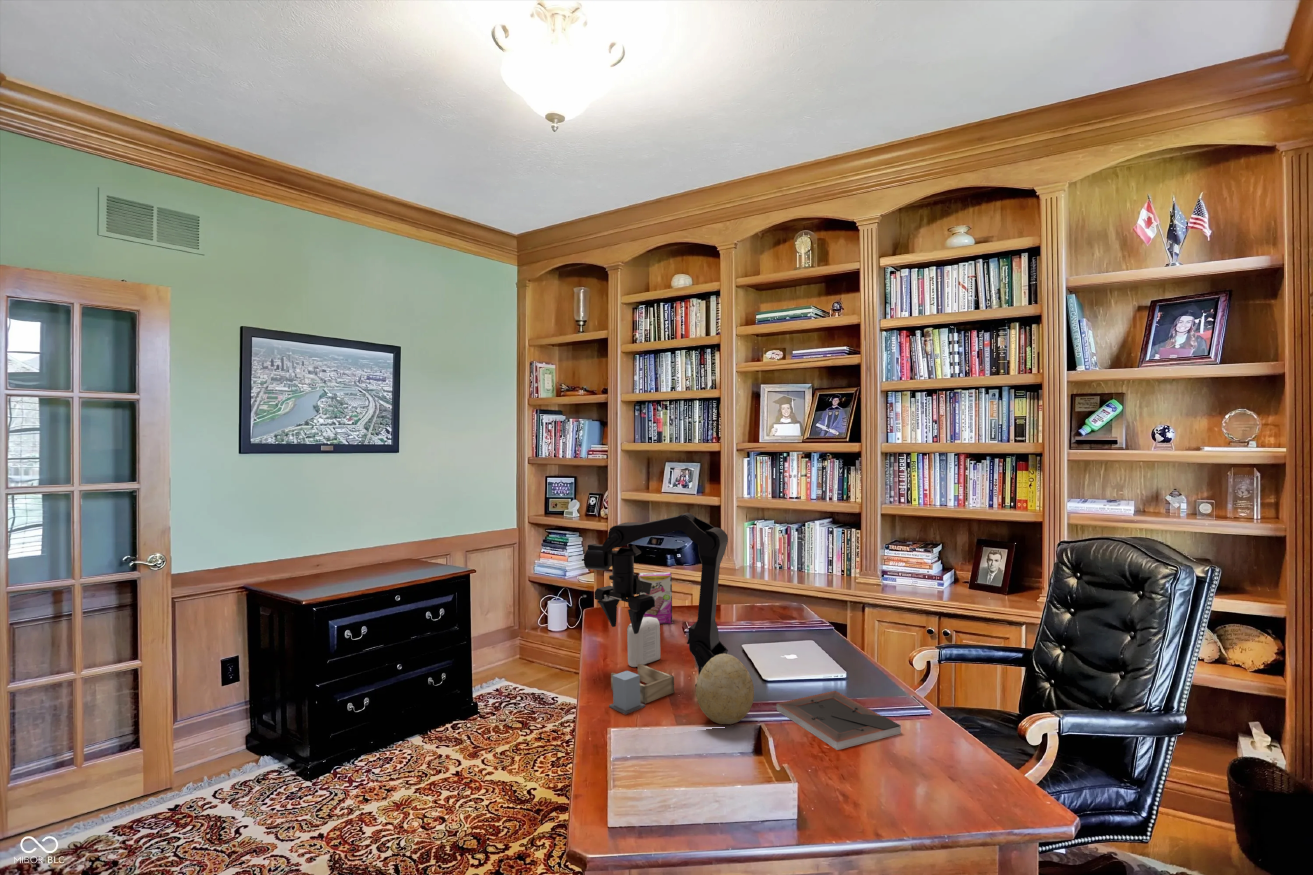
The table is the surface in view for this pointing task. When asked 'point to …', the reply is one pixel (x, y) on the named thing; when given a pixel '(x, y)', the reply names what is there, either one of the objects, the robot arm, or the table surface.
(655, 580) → the candy bar box
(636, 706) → the felt coaster
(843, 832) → the table surface
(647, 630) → the white rounded slab
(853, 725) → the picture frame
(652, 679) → the u-shaped bracket
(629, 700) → the slate block
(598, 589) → the robot arm
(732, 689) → the fossilized egg
